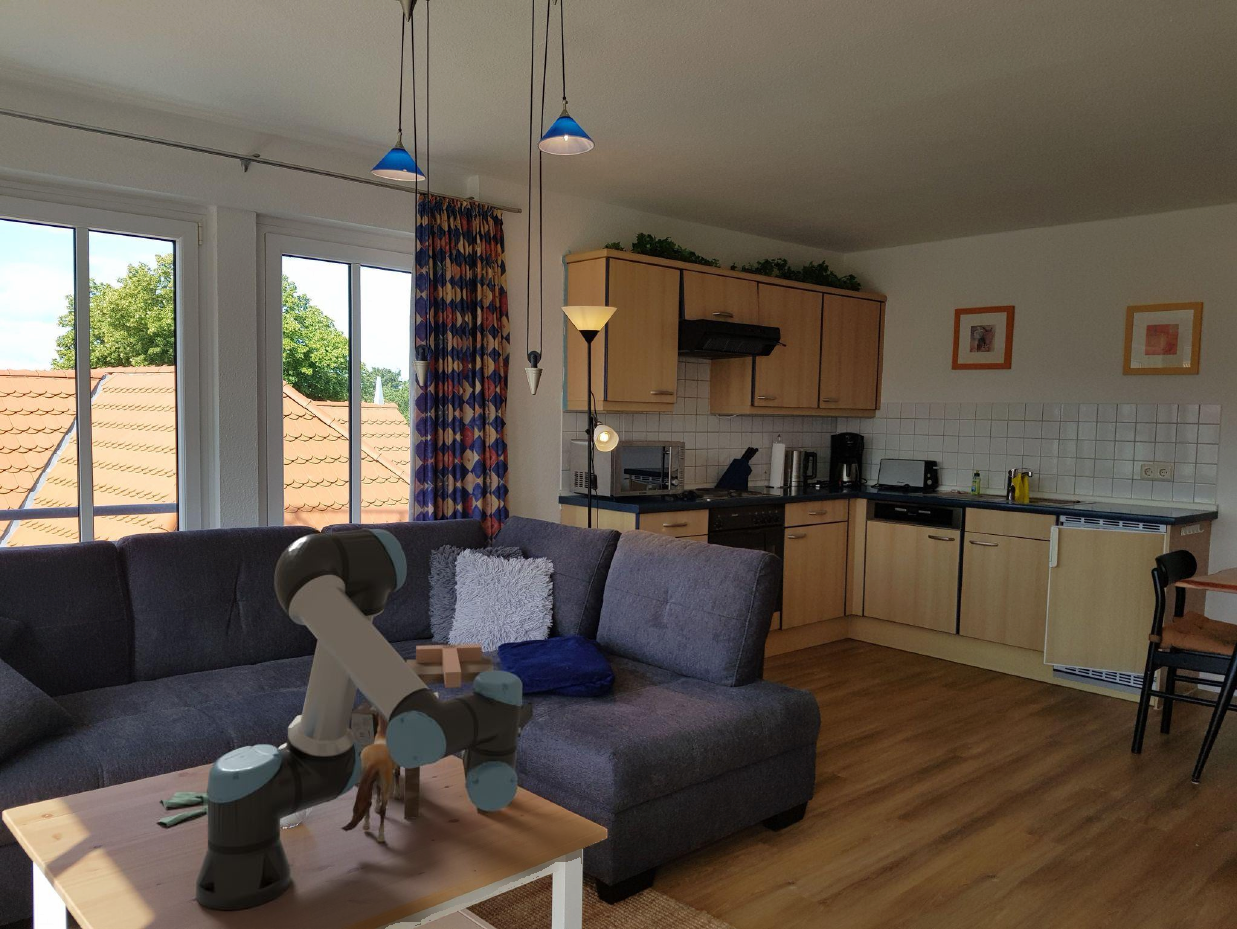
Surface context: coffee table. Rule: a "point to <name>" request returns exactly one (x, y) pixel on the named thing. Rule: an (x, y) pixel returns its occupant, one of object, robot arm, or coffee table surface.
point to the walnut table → (432, 675)
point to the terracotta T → (449, 659)
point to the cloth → (184, 801)
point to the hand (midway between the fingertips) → (472, 696)
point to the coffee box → (364, 727)
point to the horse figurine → (374, 769)
